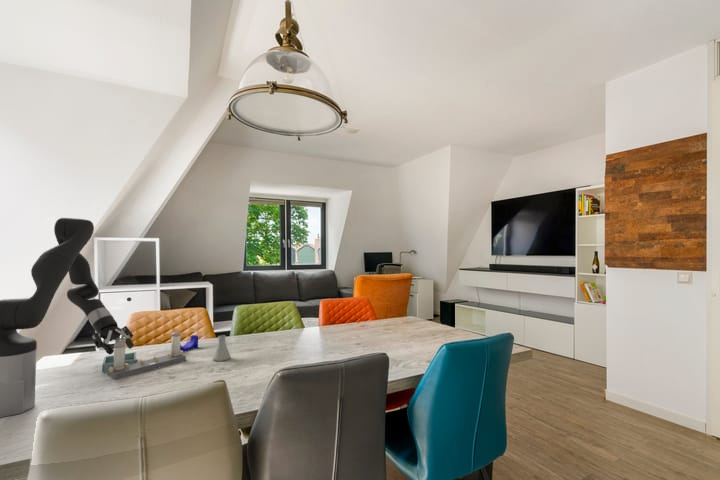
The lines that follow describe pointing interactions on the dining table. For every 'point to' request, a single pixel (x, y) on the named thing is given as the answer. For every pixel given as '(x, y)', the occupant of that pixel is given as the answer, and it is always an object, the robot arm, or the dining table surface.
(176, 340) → the fuse
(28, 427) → the dining table surface
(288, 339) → the dining table surface
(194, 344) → the blue shoe
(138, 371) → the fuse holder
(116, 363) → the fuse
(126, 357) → the tray
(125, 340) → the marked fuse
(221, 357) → the flask
